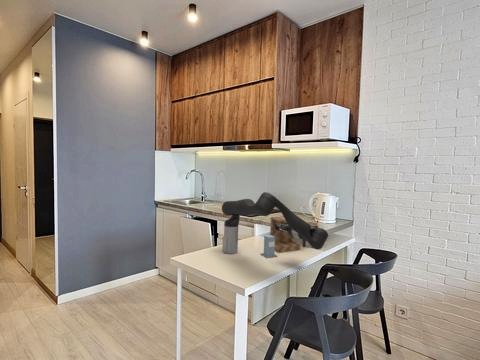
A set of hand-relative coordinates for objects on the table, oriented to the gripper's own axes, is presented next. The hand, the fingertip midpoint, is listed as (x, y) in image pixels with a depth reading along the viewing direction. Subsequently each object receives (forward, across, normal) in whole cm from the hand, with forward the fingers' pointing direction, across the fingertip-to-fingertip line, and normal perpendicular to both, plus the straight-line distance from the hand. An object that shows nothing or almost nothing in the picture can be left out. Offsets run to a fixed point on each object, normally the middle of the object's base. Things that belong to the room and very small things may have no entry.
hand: (280, 224), depth 169 cm
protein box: (+18, -40, +22) cm, 49 cm away
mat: (+8, +2, +21) cm, 23 cm away
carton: (+8, +2, +21) cm, 23 cm away
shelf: (+16, -16, +22) cm, 31 cm away
